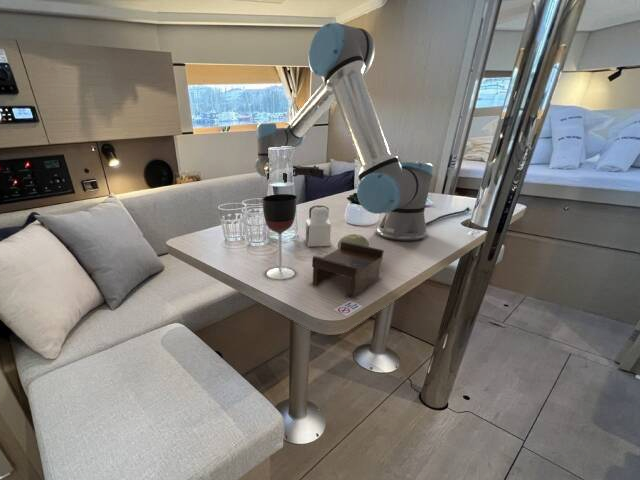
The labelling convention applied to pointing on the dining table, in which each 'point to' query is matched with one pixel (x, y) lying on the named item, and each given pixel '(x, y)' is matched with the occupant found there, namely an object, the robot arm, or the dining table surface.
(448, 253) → the dining table surface
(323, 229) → the medicine bottle
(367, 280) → the stand
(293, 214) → the wineglass
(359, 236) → the sea urchin shell
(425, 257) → the dining table surface
